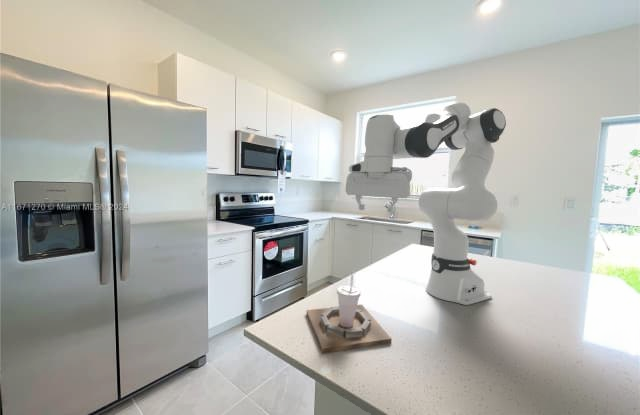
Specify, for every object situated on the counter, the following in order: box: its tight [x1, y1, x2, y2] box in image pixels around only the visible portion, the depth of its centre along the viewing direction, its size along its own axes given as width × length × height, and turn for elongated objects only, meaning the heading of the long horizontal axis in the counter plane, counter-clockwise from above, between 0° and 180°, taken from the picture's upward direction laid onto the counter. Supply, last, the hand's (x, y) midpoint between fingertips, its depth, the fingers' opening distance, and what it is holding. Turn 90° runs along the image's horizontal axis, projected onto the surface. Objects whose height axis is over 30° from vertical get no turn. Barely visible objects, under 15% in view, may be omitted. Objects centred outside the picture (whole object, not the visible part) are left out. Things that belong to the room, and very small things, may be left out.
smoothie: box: [336, 274, 362, 327], centre depth 69 cm, size 6×6×14 cm
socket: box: [306, 304, 393, 354], centre depth 70 cm, size 18×18×3 cm
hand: (375, 211), depth 81 cm, fingers open, 8 cm apart
